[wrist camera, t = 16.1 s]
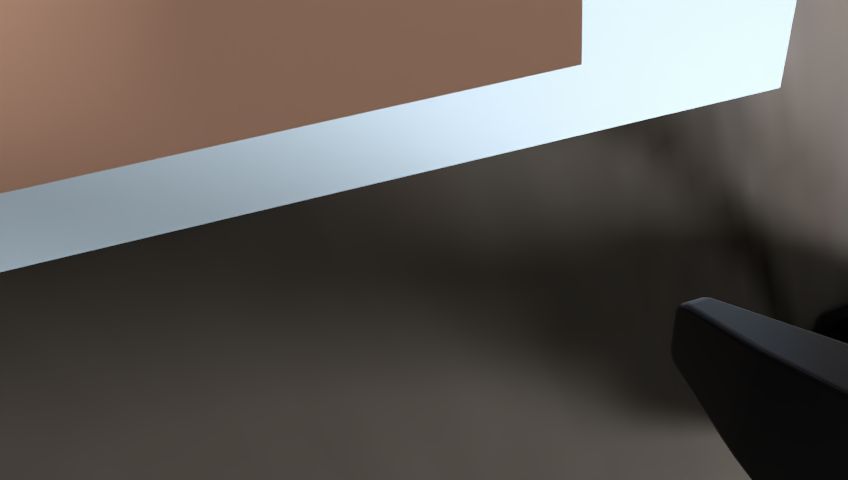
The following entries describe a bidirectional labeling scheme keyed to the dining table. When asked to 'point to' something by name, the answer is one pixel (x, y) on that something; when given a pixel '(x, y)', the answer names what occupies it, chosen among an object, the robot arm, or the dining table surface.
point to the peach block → (242, 69)
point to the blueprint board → (420, 128)
